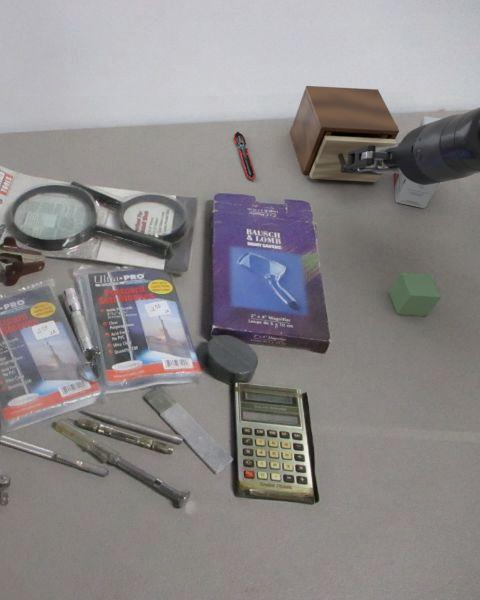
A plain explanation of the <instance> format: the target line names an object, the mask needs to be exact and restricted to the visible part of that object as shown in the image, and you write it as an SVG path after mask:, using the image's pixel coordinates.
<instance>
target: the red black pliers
mask: <svg viewBox="0 0 480 600" xmlns="http://www.w3.org/2000/svg"><path fill="white" fill-rule="evenodd" d="M237 138H238V140H237ZM241 138H242V139H241ZM233 139H234V143H235V145H237V150H238V152H239V156H240V159H241V162H242V166H243V169H244V172H245V176H246V177H247V178H248V179H250V180H255V178H256V172H255V169H254V166H253V163H252V160H251V157H250V153H249V148H247V142H246V138H245V136H244V135H243V134H242V133H241V132H239V131H236V133H235V132H234V134H233ZM242 140H243V142H242ZM248 167H249V168H248ZM249 170H250V171H249ZM250 173H251V174H250Z"/></svg>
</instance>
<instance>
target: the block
mask: <svg viewBox="0 0 480 600" xmlns="http://www.w3.org/2000/svg"><path fill="white" fill-rule="evenodd" d="M388 294H389V298H390V300H391V303H392V305H393V307H394V310H395V313H396V315H399V316H416V317H417V316H418V317H428V315H429V314H430V313H431V311H432V310H433V309H434V307H435V306H436V305H437V304H438V302H439V301H440V300H441V298H442V295H441V293H440V291H439V288H438V286H437V284H436V282H435V279H434V277H433V275H432V274H431V273H413V272H412V273H411V272H401V273H400V274H399V275H398V277H397V278H396V280H395V281H394V283H393V284H392V286H391V287H390V289H389V290H388Z"/></svg>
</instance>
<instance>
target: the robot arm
mask: <svg viewBox="0 0 480 600" xmlns="http://www.w3.org/2000/svg"><path fill="white" fill-rule="evenodd" d="M382 160H383V163H384V164H385V165H386V166H385V168H382ZM347 170H348V171H349V173H350V174H356V173H359V172H364V171H372V172H374V173H378V174H380V173H382V174H391V173H392V174H394V173H397V174H403V175H404V176H405V177H406V178H407V179H409V180H410V181H412V182H414V183H417V184H423V185H428V184H434V183H440V184H441V183H444V182H449V181H455V180H461V179H465V178H468V177H470V176H472V175H473V176H474V175H475V174H479V173H480V107H476V108H474V109H471V110H468V111H465V112H463V113H457V114H451V115H449V116H446V117H442V118H441V119H440V120H437V121H434V122H431V123H429V124H426V125H423V126H421V127H419V126H417V127H416V128H414V129H412V130H410V131H409V132H408V133H407V134H405V136H404V137H403V138H402V140H401V141H400V142H399V143H398V142H397V144H396V145H394V146H388V147H378V148H376V146H373V145H369V146H365V147H362V148H359V149H356V150H353V151H349V152H348V162H347Z"/></svg>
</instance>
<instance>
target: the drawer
mask: <svg viewBox="0 0 480 600" xmlns="http://www.w3.org/2000/svg"><path fill="white" fill-rule="evenodd" d="M387 136H388V134H371V133H351V132H332V131H325V132H324V134H323V137H322V139H321V142H320V144H319V147H318V149H317V152H316V154H315V157H314V159H313V162H312V164H311V166H312V169H311V171H310V174H309V175H308V176H309V178H310V179H314V180H331V181H333V180H334V181H350V182H351V181H352V182H369V183H371V182H372V183H378V182H379V180H380V179H381V176H382V174H383V173H380V174H378V173H374V172H372V171H364V172H359V173H356V174H350V173H349V171H348V170H347V162H348V152H349V151H353V150H356V149H359V148H362V147H365V146H369V145H373V146H376V148H378V147H388V146H394V145H396V144H398V142H397V140H396V139H386V138H387ZM386 167H387V166H386V165H385V164H384V163H383V160H382V168H386Z"/></svg>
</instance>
